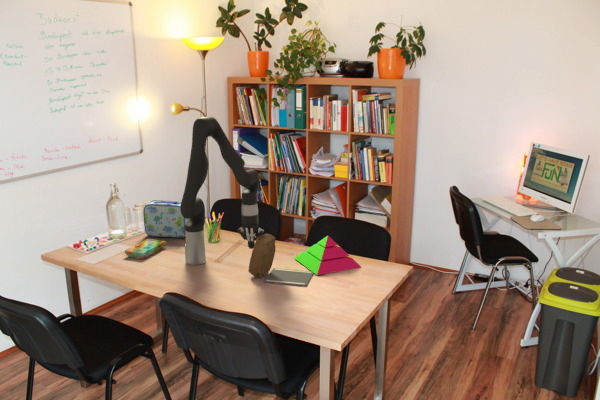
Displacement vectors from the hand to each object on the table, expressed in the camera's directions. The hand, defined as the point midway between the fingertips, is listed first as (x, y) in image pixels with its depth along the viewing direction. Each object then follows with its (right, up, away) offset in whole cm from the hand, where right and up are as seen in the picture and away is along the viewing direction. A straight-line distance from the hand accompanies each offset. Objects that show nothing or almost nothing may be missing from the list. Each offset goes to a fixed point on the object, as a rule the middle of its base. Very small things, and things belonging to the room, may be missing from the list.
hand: (251, 248), depth 250 cm
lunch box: (-54, +2, +60) cm, 81 cm away
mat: (+18, -14, 0) cm, 23 cm away
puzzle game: (-59, -6, +34) cm, 68 cm away
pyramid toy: (+37, -9, +17) cm, 41 cm away
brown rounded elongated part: (+3, -12, +3) cm, 13 cm away
